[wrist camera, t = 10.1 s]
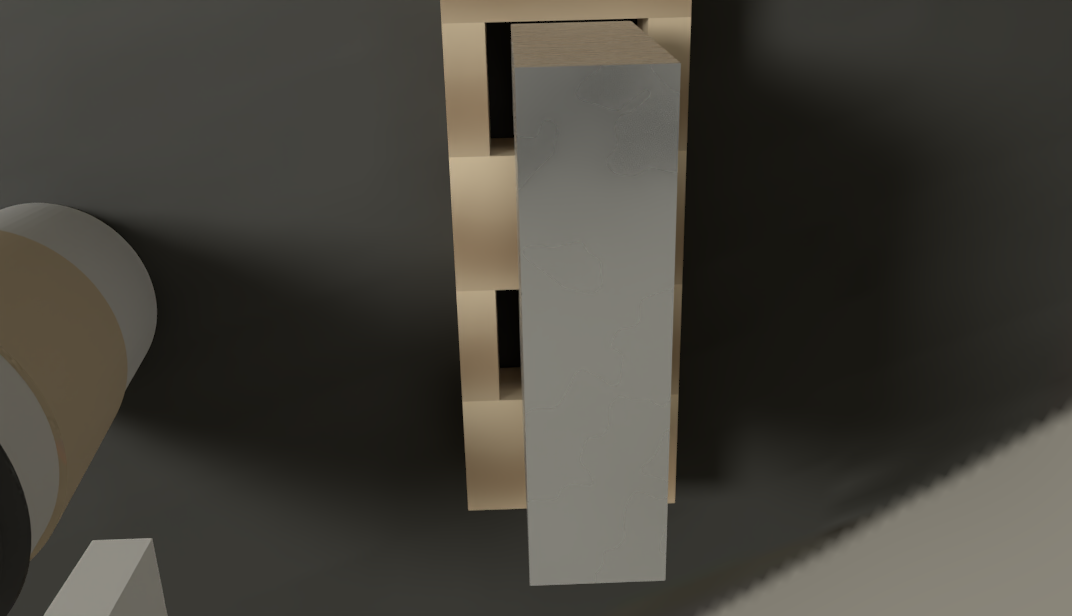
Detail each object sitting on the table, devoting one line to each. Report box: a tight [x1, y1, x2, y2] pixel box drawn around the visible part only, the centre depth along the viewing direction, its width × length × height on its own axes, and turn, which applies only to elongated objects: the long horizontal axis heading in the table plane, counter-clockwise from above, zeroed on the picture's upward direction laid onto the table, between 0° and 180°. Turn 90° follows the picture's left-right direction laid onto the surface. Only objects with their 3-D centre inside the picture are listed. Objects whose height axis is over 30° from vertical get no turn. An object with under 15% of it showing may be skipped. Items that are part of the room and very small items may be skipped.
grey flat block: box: [511, 21, 681, 586], centre depth 27 cm, size 12×3×12 cm, turn 1°
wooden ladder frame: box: [440, 0, 692, 511], centre depth 32 cm, size 20×7×2 cm, turn 1°
